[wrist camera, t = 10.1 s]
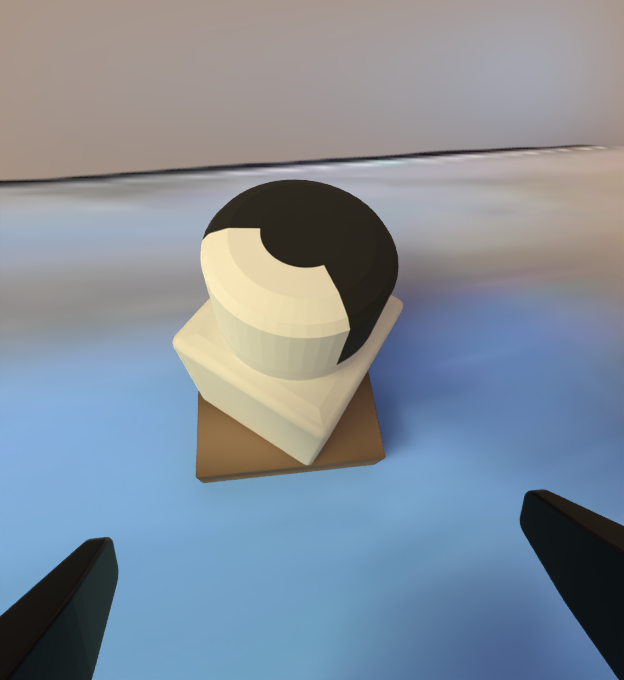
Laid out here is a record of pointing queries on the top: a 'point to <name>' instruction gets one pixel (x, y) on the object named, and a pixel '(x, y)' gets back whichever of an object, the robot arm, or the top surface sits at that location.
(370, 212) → the medicine bottle
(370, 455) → the walnut block
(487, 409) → the top surface
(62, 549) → the top surface
